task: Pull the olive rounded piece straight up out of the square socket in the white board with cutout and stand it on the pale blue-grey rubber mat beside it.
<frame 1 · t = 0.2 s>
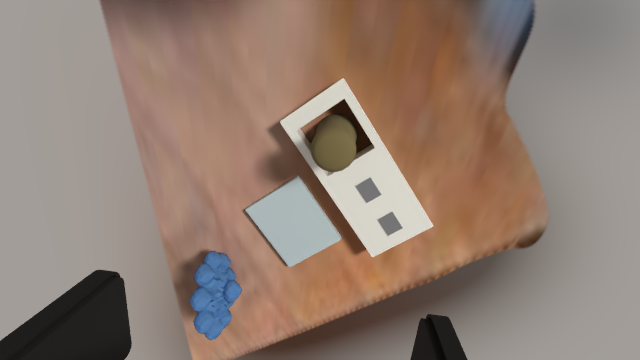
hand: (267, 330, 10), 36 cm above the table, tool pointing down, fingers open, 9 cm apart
rubber mat: (294, 221, 49), on the table
grapes: (235, 268, 53), on the table
white board with cutout: (358, 169, 45), on the table
olive rounded piece: (336, 135, 44), resting in white board with cutout
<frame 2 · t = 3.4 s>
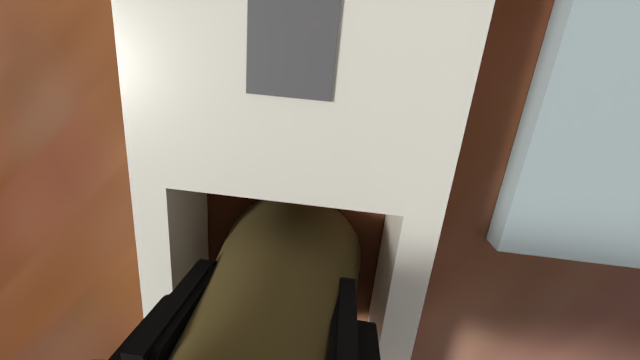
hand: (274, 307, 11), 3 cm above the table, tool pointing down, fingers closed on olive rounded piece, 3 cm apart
white board with cutout: (301, 120, 12), on the table
olive rounded piece: (294, 253, 14), resting in white board with cutout, touching gripper
when the fingers open (6 cm above the table, at t = 9.9 s): olive rounded piece drops 1 cm, resting on rubber mat.
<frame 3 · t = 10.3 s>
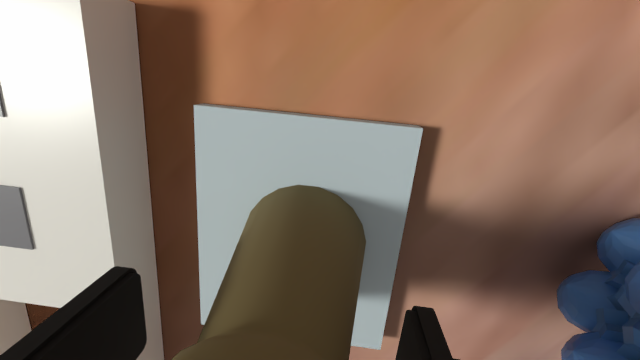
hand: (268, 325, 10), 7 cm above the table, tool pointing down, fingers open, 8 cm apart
rubber mat: (299, 230, 16), on the table
grapes: (588, 226, 15), on the table
white board with cutout: (69, 234, 17), on the table
olive rounded piece: (304, 241, 15), point 1 cm above the table, touching rubber mat
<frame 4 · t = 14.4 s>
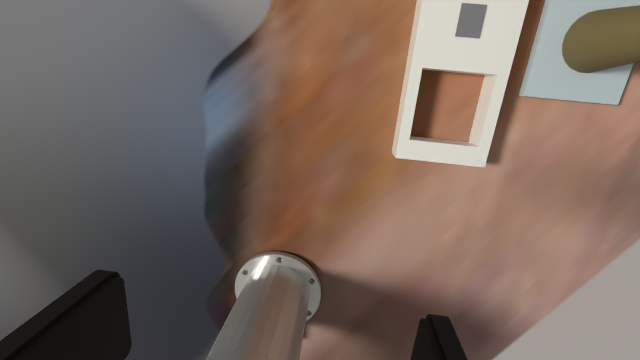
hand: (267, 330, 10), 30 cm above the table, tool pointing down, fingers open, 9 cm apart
rubber mat: (582, 42, 33), on the table
white board with cutout: (454, 51, 34), on the table
olive rounded piece: (591, 42, 32), point 1 cm above the table, touching rubber mat
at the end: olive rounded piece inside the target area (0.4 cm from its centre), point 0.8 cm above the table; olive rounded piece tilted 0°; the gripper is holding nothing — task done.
